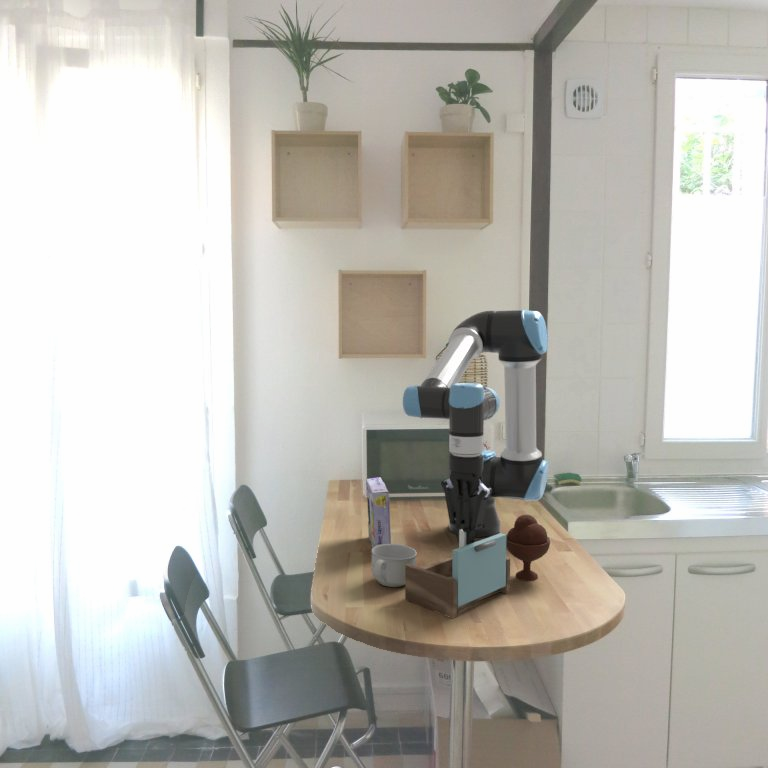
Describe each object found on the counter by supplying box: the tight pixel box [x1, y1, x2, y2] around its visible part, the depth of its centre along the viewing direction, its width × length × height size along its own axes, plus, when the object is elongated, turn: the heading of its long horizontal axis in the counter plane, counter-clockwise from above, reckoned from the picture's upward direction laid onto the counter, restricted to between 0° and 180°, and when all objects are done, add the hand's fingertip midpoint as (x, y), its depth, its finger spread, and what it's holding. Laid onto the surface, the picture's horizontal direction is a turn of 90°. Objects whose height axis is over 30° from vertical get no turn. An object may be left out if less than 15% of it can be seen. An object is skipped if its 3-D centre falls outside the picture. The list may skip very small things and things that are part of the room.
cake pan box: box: [365, 477, 392, 549], centre depth 197 cm, size 19×5×18 cm, turn 7°
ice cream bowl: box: [506, 514, 551, 582], centre depth 174 cm, size 11×11×15 cm
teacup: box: [371, 543, 418, 588], centre depth 170 cm, size 14×11×8 cm
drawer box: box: [404, 556, 511, 619], centre depth 162 cm, size 20×14×8 cm
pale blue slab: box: [452, 532, 507, 607], centre depth 157 cm, size 17×3×12 cm, turn 134°
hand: (465, 557), depth 160 cm, fingers closed
